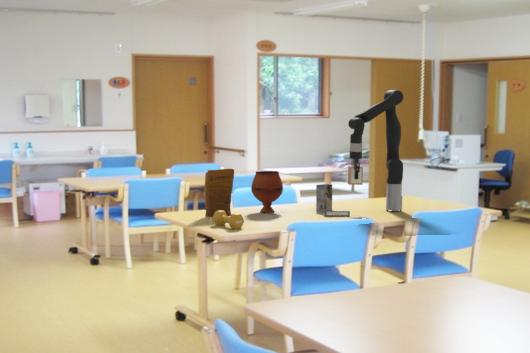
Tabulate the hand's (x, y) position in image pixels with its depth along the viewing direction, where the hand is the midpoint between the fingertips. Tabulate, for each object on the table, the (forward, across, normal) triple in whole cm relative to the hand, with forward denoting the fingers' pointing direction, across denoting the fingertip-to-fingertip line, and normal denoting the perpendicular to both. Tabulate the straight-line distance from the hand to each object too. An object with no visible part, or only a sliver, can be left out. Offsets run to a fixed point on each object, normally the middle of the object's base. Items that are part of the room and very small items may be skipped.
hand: (355, 178), depth 449 cm
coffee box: (+22, -15, -16) cm, 31 cm away
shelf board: (+21, +5, -13) cm, 26 cm away
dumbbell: (+22, +46, -80) cm, 95 cm away
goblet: (+22, -7, -53) cm, 58 cm away
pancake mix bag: (+22, +9, -83) cm, 86 cm away
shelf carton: (+4, 0, 0) cm, 4 cm away
